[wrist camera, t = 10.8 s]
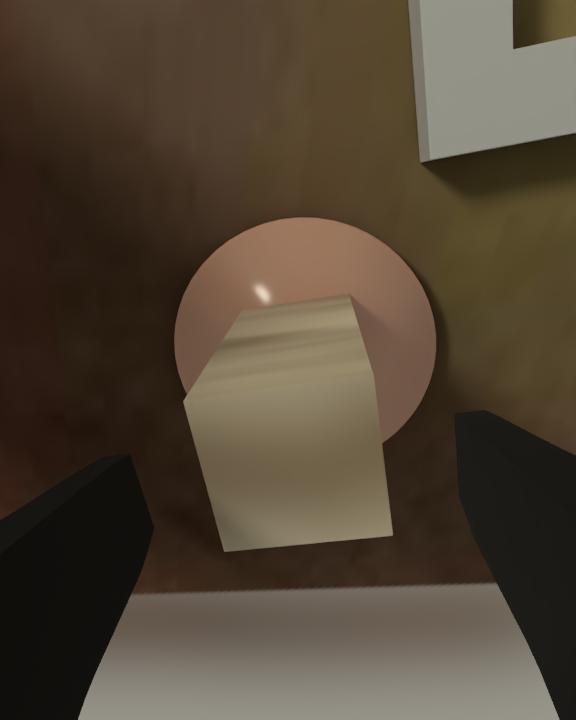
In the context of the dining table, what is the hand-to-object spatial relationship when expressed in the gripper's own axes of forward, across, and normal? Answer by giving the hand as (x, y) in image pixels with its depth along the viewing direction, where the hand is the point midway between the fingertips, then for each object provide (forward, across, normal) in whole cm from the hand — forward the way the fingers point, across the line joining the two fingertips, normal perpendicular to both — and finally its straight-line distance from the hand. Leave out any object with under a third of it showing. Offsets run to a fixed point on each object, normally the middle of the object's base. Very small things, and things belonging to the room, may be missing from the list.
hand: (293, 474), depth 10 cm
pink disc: (+9, 0, 0) cm, 9 cm away
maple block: (+8, 0, 0) cm, 8 cm away
